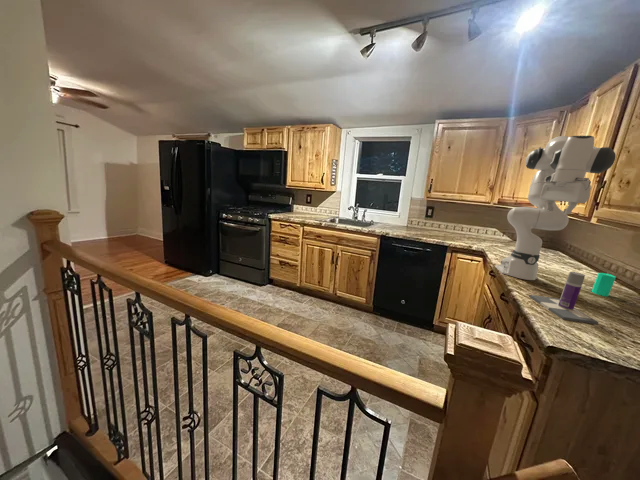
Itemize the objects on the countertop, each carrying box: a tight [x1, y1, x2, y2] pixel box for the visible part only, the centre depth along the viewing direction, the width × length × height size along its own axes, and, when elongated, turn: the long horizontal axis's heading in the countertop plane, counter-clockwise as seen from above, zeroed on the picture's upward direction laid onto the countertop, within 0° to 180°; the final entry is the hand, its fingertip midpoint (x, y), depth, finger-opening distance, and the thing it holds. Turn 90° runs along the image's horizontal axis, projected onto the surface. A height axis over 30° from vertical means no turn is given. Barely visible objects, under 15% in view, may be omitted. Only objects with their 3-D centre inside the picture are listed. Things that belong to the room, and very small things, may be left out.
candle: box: [591, 272, 617, 297], centre depth 127 cm, size 6×6×12 cm
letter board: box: [528, 294, 599, 325], centre depth 105 cm, size 20×12×1 cm, turn 172°
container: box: [558, 271, 586, 310], centre depth 103 cm, size 5×5×15 cm
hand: (557, 212), depth 104 cm, fingers open, 8 cm apart
